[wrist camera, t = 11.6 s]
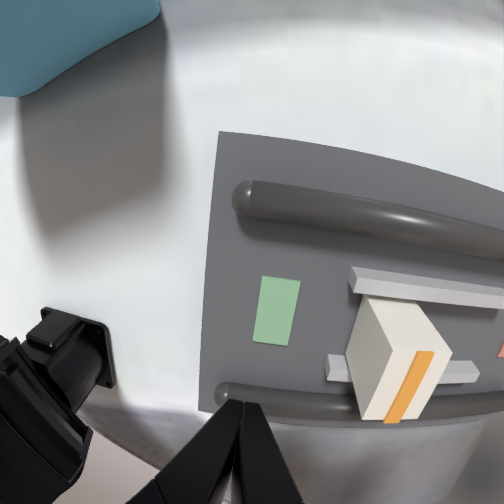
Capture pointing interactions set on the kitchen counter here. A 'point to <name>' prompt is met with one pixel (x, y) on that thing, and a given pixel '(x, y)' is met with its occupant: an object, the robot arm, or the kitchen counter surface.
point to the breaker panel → (344, 278)
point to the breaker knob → (394, 358)
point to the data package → (60, 36)
